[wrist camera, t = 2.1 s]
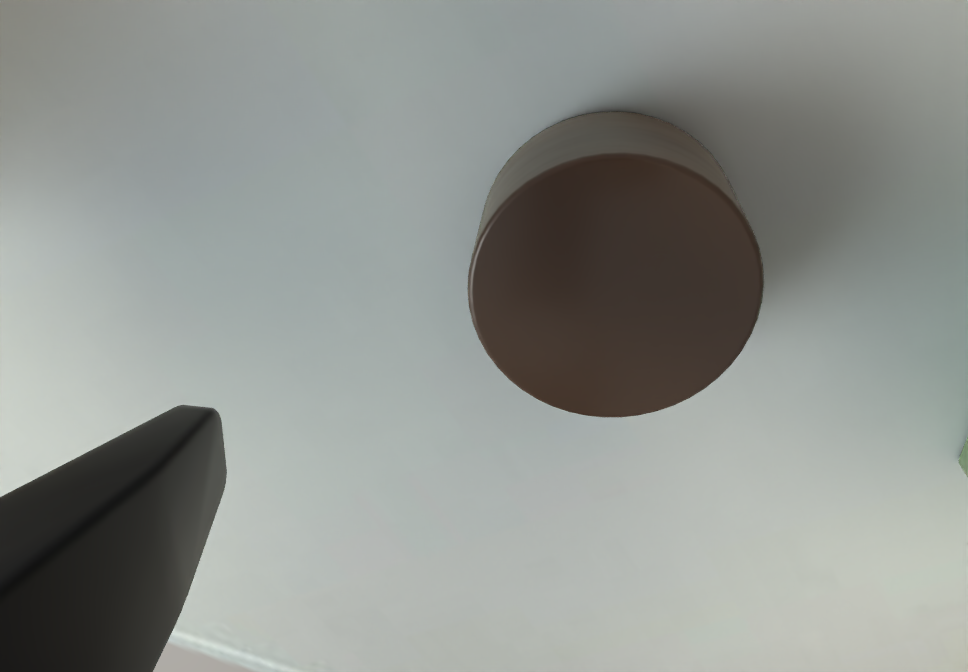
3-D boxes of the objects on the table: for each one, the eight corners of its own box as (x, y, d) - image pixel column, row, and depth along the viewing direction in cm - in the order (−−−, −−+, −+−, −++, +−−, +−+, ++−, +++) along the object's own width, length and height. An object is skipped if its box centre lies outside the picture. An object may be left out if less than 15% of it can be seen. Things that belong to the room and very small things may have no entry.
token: (639, 385, 16) (649, 462, 14) (437, 273, 16) (416, 336, 14) (792, 197, 14) (830, 255, 12) (568, 57, 14) (567, 93, 12)
